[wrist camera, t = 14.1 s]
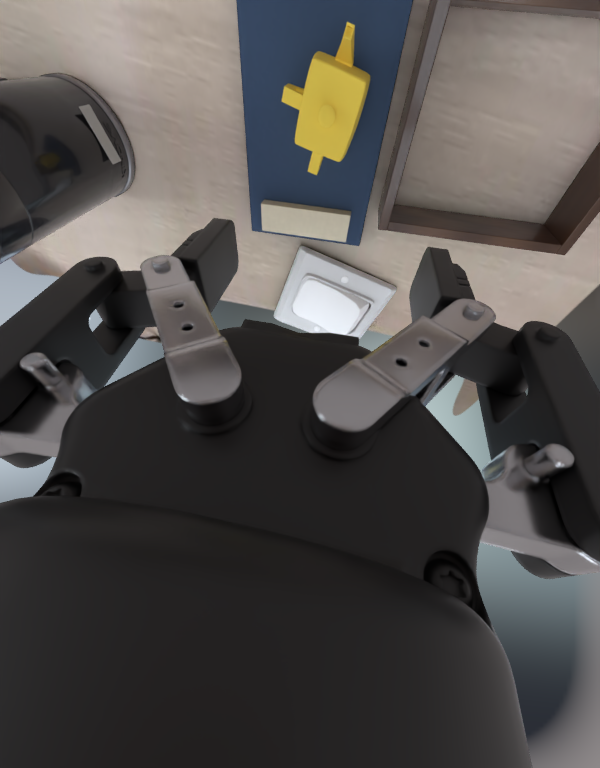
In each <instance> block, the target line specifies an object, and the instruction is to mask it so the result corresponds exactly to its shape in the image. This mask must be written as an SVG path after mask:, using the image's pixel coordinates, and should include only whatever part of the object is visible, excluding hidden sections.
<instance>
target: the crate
mask: <svg viewBox="0 0 600 768" xmlns="http://www.w3.org/2000/svg"><path fill="white" fill-rule="evenodd" d="M450 6H459V7H470V8H482V9H494V10H505V11H517V12H529V13H540V14H552V15H564V16H575V17H587V18H599V19H600V0H430V4H429V8H428V12H427V16H426V20H425V24H424V28H423V32H422V36H421V40H420V44H419V48H418V53H417V57H416V61H415V65H414V69H413V73H412V77H411V81H410V85H409V89H408V93H407V97H406V101H405V105H404V109H403V113H402V117H401V121H400V125H399V129H398V133H397V137H396V141H395V145H394V150H393V154H392V158H391V162H390V166H389V170H388V174H387V178H386V182H385V186H384V190H383V194H382V198H381V202H380V206H379V210H378V229H379V230H388V231H395V232H402V233H409V234H416V235H423V236H431V237H438V238H445V239H452V240H460V241H467V242H474V243H481V244H488V245H496V246H503V247H510V248H517V249H525V250H532V251H539V252H546V253H553V254H560V255H565V254H566V253H567V252H568V251H569V249H570V248H571V247H572V246H573V244H574V243H575V242H576V241H577V239H578V238H579V237H580V236H581V234H582V233H583V232H584V231H585V229H586V228H587V227H588V226H589V224H590V223H591V222H592V220H593V219H594V218H595V217H596V215H597V214H598V213H599V212H600V143H599V144H598V146H597V147H596V149H595V150H594V152H593V153H592V155H591V156H590V158H589V159H588V161H587V162H586V164H585V165H584V166H583V168H582V169H581V171H580V172H579V174H578V175H577V177H576V178H575V180H574V181H573V183H572V184H571V186H570V187H569V189H568V190H567V192H566V193H565V194H564V196H563V197H562V199H561V200H560V202H559V203H558V205H557V206H556V208H555V209H554V211H553V212H552V214H551V215H550V217H549V218H548V220H547V221H546V222H545V224H537V223H529V222H522V221H514V220H507V219H499V218H491V217H484V216H476V215H469V214H461V213H454V212H446V211H439V210H431V209H423V208H416V207H408V206H401V205H394V203H395V199H396V195H397V192H398V188H399V185H400V181H401V178H402V174H403V171H404V167H405V163H406V160H407V156H408V153H409V149H410V146H411V142H412V139H413V135H414V132H415V128H416V124H417V121H418V117H419V114H420V110H421V107H422V103H423V100H424V96H425V92H426V89H427V85H428V82H429V78H430V75H431V71H432V68H433V64H434V60H435V57H436V53H437V50H438V46H439V43H440V39H441V36H442V32H443V29H444V25H445V21H446V18H447V14H448V11H449V7H450Z"/></svg>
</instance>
